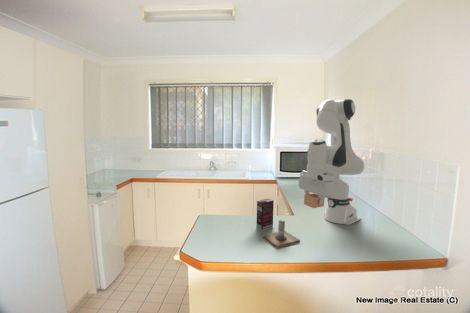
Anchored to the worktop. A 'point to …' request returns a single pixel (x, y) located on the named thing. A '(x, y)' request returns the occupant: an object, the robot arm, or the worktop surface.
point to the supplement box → (265, 214)
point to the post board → (281, 243)
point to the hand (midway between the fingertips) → (314, 201)
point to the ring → (312, 200)
